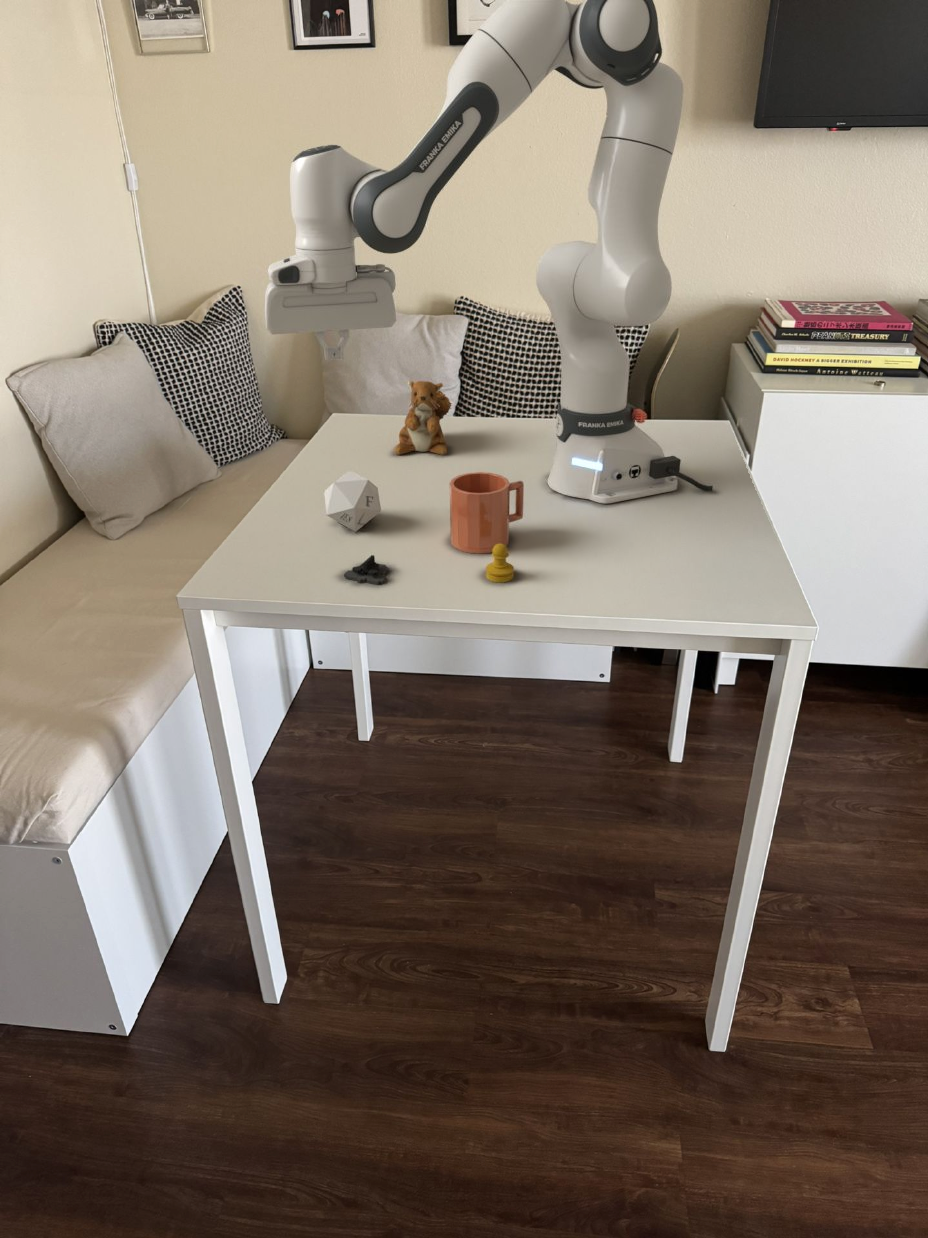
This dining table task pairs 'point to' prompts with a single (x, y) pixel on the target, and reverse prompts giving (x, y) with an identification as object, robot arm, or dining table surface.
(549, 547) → the dining table surface
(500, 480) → the mug
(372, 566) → the block figure
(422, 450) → the stuffed squirrel
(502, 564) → the chess piece
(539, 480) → the dining table surface
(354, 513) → the die
